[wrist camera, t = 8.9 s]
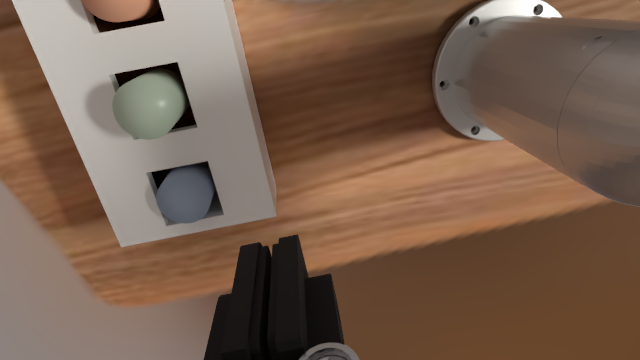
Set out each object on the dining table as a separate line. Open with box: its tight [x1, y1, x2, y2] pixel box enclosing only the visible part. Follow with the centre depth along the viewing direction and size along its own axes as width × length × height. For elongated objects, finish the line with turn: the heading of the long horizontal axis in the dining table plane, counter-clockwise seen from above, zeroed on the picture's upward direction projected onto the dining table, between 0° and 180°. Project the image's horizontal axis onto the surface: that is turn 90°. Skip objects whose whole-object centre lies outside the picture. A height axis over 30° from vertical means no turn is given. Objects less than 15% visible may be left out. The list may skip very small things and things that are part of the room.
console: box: [12, 0, 276, 247], centre depth 32 cm, size 13×22×6 cm, turn 9°
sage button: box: [112, 68, 190, 140], centre depth 29 cm, size 4×4×5 cm
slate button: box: [156, 161, 216, 223], centre depth 33 cm, size 4×4×5 cm
